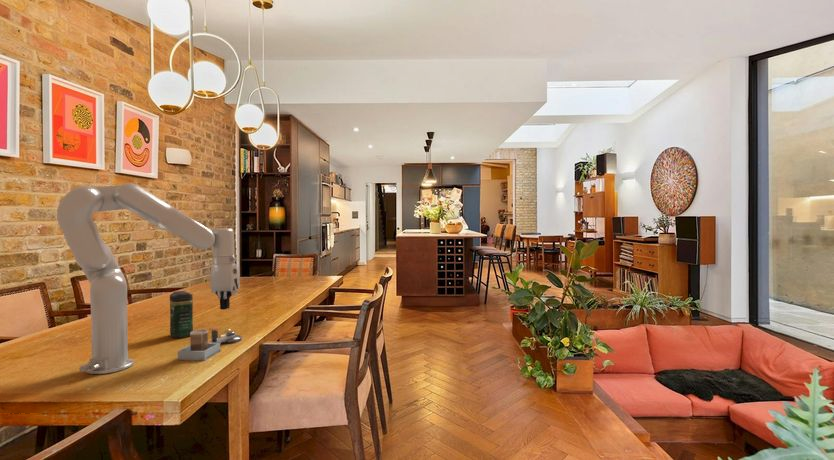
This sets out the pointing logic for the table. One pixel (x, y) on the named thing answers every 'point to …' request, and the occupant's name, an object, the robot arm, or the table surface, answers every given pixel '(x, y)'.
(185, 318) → the coffee jar
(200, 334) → the block
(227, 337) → the crank
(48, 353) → the table surface
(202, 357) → the tray
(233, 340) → the hub
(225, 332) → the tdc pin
